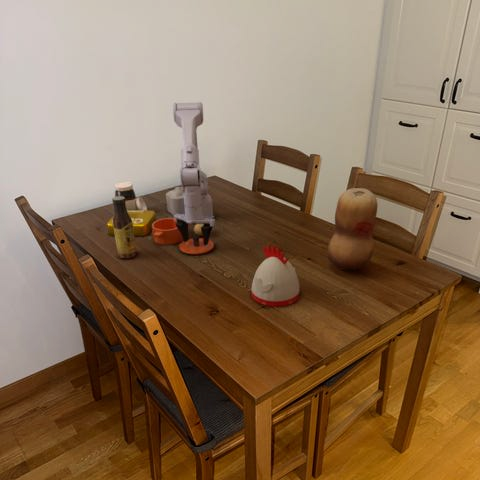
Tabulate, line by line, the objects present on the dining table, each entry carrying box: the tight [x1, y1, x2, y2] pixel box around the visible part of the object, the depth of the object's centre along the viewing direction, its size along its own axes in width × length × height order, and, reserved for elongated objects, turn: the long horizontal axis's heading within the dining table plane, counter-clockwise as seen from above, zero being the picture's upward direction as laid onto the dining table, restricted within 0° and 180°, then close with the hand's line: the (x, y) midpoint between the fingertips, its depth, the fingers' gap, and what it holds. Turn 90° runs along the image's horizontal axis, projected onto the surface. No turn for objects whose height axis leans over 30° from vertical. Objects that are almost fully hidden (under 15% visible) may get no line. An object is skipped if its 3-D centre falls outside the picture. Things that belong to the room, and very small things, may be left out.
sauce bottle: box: [111, 196, 137, 259], centre depth 155 cm, size 7×6×20 cm
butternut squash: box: [327, 187, 378, 272], centre depth 142 cm, size 14×13×25 cm
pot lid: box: [178, 234, 215, 255], centre depth 163 cm, size 12×12×4 cm
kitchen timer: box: [250, 243, 300, 307], centre depth 133 cm, size 14×14×15 cm
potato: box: [193, 223, 204, 237], centre depth 172 cm, size 7×5×5 cm, turn 157°
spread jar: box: [114, 181, 148, 210], centre depth 189 cm, size 12×11×12 cm
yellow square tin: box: [106, 209, 157, 237], centre depth 179 cm, size 15×15×5 cm
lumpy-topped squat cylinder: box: [165, 186, 185, 216], centre depth 192 cm, size 10×13×9 cm
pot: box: [151, 217, 184, 246], centre depth 170 cm, size 11×17×5 cm
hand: (196, 242), depth 163 cm, fingers open, 7 cm apart
